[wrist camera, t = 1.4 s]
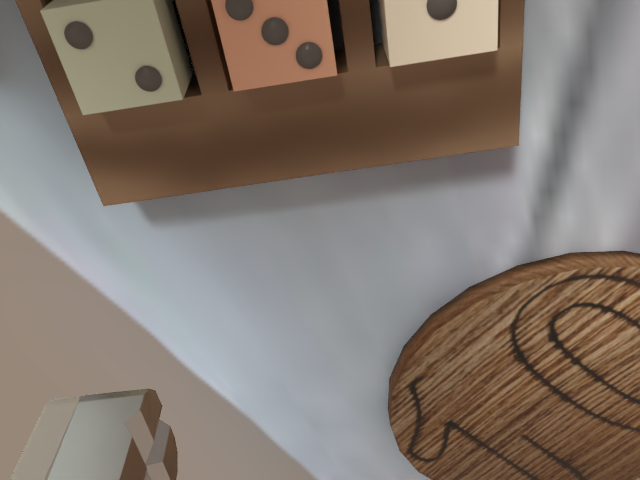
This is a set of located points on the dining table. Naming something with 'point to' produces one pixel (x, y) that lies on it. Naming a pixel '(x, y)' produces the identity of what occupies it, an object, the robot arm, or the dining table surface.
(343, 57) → the key panel
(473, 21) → the key one
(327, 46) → the key three
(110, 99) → the key two
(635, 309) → the trivet
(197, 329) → the dining table surface
